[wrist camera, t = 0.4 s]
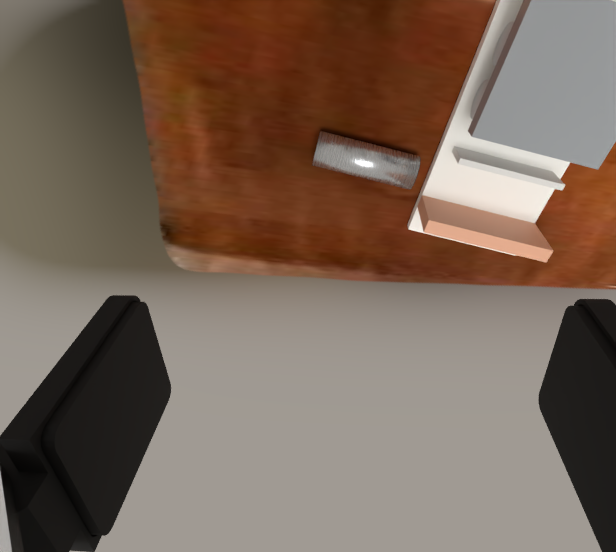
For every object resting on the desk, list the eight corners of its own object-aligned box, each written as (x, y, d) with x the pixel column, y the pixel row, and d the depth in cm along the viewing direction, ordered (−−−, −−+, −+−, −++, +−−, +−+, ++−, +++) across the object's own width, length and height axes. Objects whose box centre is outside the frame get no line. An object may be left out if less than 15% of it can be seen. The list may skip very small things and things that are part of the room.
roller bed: (557, -152, 29) (597, -175, 24) (716, -105, 30) (788, -119, 25) (407, 224, 45) (413, 256, 40) (513, 250, 46) (531, 285, 41)
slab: (532, -21, 29) (539, -20, 28) (676, 19, 30) (690, 22, 29) (467, 130, 35) (471, 136, 34) (589, 162, 36) (598, 169, 34)
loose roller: (320, 127, 41) (319, 134, 38) (417, 152, 41) (422, 161, 39) (313, 160, 42) (311, 169, 40) (406, 183, 43) (410, 194, 40)
